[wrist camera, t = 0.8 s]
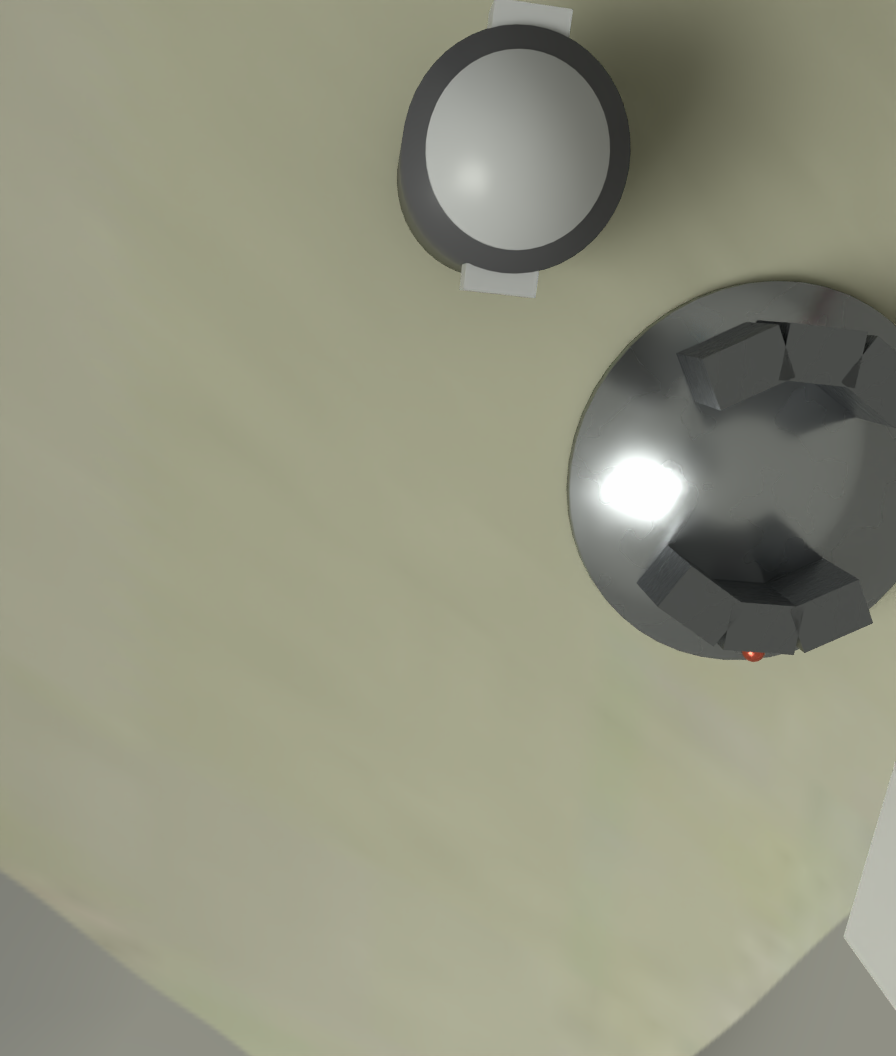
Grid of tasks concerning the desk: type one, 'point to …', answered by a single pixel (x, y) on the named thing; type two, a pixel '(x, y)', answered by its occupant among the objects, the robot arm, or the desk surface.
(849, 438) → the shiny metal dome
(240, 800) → the desk surface
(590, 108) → the dark grey short cylinder
